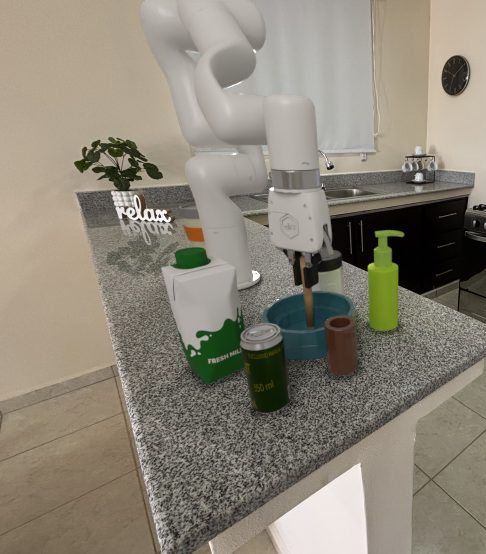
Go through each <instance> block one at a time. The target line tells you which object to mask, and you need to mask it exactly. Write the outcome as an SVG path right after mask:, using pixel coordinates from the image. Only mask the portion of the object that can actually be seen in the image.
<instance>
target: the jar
mask: <svg viewBox="0 0 486 554" xmlns="http://www.w3.org/2000/svg"><path fill="white" fill-rule="evenodd" d="M320 251H322V248H321V249H320ZM333 251H334V255H332V256H330V257H328V258H324V259H322V260H321V262H320V263H319V264H318V275H319V282H318V284H316V285H314V286H313V287H312V291H326V292H334V293H338V294H341V295H344V296H346V295H345V277H344V263H343V255H342V253H341V252H340V251H339V250H335V249H333ZM312 256H313V253H312Z"/></svg>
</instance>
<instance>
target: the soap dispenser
mask: <svg viewBox="0 0 486 554" xmlns="http://www.w3.org/2000/svg"><path fill="white" fill-rule="evenodd" d="M374 236H375V238H378V239H377V246H376V247H375V248H373V262H371V263H369V264H367V283H368V284H367V288H368V289H367V290H368V292H367V293H368V322H369V324H368V325H369V327H370V328H372V329H373V330H375V331H379V332H380V331H381V332H385V331H391V330H393V329H395V328H397V327H398V325H399V265H398V264H397V263H395V262H393V250H392V248H391V247H390V246H388V237H399V238H403V237H404V236H405V233H404V232H403V231H400V230H393V229H392V230H391V229H385V230H384V229H383V230H376V231H374Z"/></svg>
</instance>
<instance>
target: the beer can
mask: <svg viewBox="0 0 486 554" xmlns="http://www.w3.org/2000/svg"><path fill="white" fill-rule="evenodd" d="M240 347H241V353H242V358H243V363H244V368H243V369H244V373H245V378H246V382H247V388H248V394H249V400H250V403H251V407H252V409H253V410H254V411H255V412H256V413H259V414H263V415H265V414H266V415H269V414H273V413H277V412H279V411H282V410H283V409H284V408H286V407H287V405H289V403H290V401H291V399H292V391H291V382H290V377H289V370H288V363H287V359H286V354H285V346H284V339H283V334H282V333H281V331H280V327H279V326H277V325H275V324H271V323H263V324H262V323H258V324H254V325H251V326H249V327H247V328H245V330H244V331H243V332H242V333H241V341H240Z"/></svg>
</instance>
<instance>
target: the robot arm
mask: <svg viewBox="0 0 486 554" xmlns="http://www.w3.org/2000/svg"><path fill="white" fill-rule="evenodd" d="M139 10H140V11H139V13H140V14H139V16H140V23H141V27H142V31H143V35H144V38H145V41H146V43H147V45H148V48H149V50H150V52H151V54H152V56H153V57H154V59H155V61H156V63H157V65H158V67H159V68H160V70H161V71H162V73H163V75H164V78H165V79H166V82H167V85H168V88H169V93H170V96H171V99H172V103H173V106H174V111H175V114H176V117H177V121H178V125H179V128H180V131H181V134H182V136H183V138H184V140H185V142H186V143H187V144H188V145H189V146H191V147H194V148H198V149H235V150H236V151H237V153H205V154H204V153H203V154H197V155H194V156H191V157H190V158H189V159H187V160H186V162H185V164H184V176H185V178H186V182H187V184H188V186H189V189H190V191H191V194H192V197H193V199H194V203H196V206H197V210H198V214H199V218H200V223H201V227H202V232H203V237H204V241H205V246H206V251H207V255H208V256H207V258H208V257H211V256H216V257H218V258H220V259H222V260H223V261H226V262H228V263H229V264H230V265H232V266H234V267H235V268H236V277H237V288H238V291H240V290H243V289H244V290H245V289H248V288H250V287H253V286H254V285H256V284H257V283H259V282H260V280H261V275H260V273H259V272H258V271H256V270H254V269H253V264H252V258H251V251H250V245H249V240H248V239H249V238H248V234H247V228H246V221H245V217H244V216H245V215H244V213H243V211H242V210H241V208H240V207H238V205H237V204H236V203H234V202H233V201H232V200H231V197H233V196H241V195H251V194H258V193H261V192H264V191H265V190H266V189H267V188H268V184H269V179H270V180H271V185H272V187H270V188H269V189H268V196H267V197H268V199H267V220H268V233H269V240H270V243H271V244H272V246H274V247H275V248H276V249H277V250H279V251H280V252H282V253H283V254H284V255H285V256H286V258H287V261H288V264H289V265H291V266H292V274H293V282H294V286H295V287H299V286H302V276H301V267H300V257H301V256H303V255H305V265H306V267H304V268H303V274H304V284H305V288H308V289H309V288H311V287H313V286H314V285H316V284H318V282H319V275H318V264H319V263H320V262H321V260H322V259H324V258H328V257H330V256H332V255H334V251H333V250H334V249H333V246H332V243H333V242H332V241H333V232H332V224H331V223H332V221H331V215H330V210H329V204H328V200H327V196H326V192H325V190H324V189H322V183H321V170H320V157H319V156H320V155H319V142H318V129H317V115H316V107H315V103H314V101H313V100H312V99H311V98H310V97H308V96H306V95H301V94H294V93H293V94H292V93H272V94H268V95H263V94H261V95H260V94H251V93H243V92H229V91H225V89H228V88H231V87H233V86H236V85H240V84H241V83H243V82H245V81H247V80H248V79H249V78H250V77H252V75H253V74H254V71H255V69H256V66H257V55H256V53H257V52H259V51H260V50H261V49H262V48H263V47H264V46H265V43H266V39H267V27H266V22H265V19H264V16H263V14H262V12H261V11H260V9H259V7H258V6H257V5H256V4H255V3H254V2H253V1H252V0H143V1H142V3H141V5H140V9H139ZM188 52H189V53H194V54H199V55H200V58H199V59H198V62H197V61H196V60H195V59H194V58H193V57H192V56H191V55H189V54H188ZM263 146H267V153H268V160H269V168H270V169H269V170H270V171H269V172H268V169H267V164H266V159H265V155H264V151H263ZM321 249H322V251H320V250H321ZM312 253H313V256H312Z"/></svg>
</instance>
